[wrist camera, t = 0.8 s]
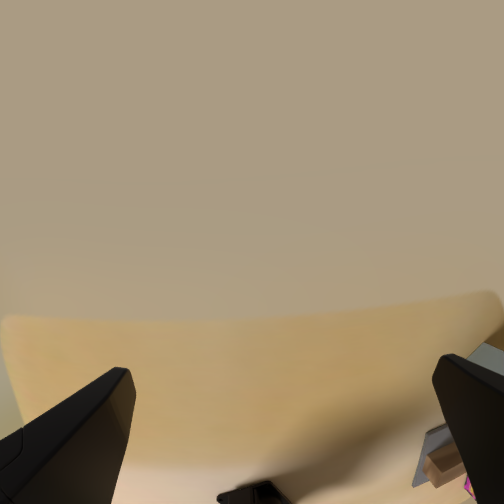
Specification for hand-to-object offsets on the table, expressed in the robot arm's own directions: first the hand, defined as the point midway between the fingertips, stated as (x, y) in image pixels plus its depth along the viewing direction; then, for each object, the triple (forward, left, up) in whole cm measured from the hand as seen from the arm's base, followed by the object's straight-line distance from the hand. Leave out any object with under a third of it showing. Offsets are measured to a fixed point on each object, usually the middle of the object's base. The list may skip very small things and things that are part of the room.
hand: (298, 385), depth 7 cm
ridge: (-31, -11, -15) cm, 36 cm away
